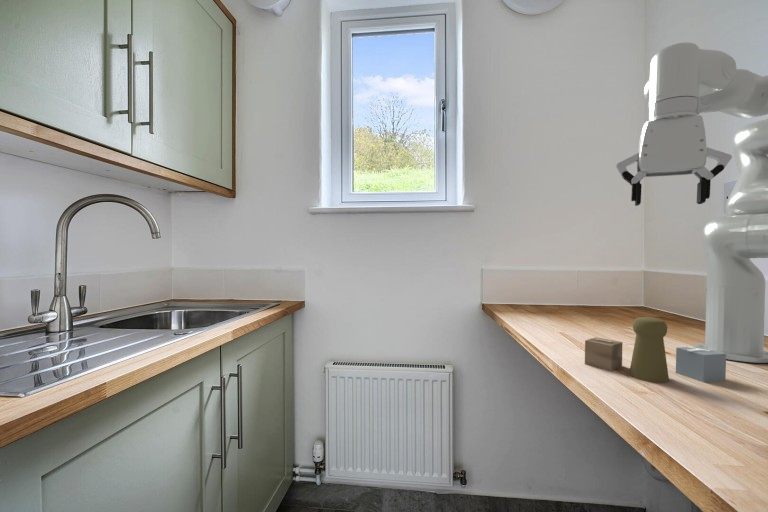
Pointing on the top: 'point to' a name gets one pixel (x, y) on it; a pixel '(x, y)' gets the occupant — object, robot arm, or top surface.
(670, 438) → the top surface
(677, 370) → the slate numeral block
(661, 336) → the cork
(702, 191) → the robot arm
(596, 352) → the walnut numeral block
